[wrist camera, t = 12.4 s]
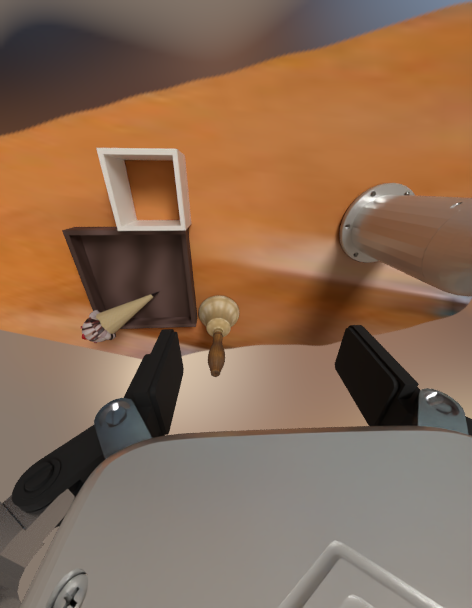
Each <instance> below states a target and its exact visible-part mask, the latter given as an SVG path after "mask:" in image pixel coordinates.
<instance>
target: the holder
mask: <svg viewBox="0 0 472 608" xmlns="http://www.w3.org/2000/svg"><path fill="white" fill-rule="evenodd" d="M96 149H97V152H98V156H99V160H100V164H101V168H102V172H103V176H104V179H105V183H106V187H107V191H108V195H109V199H110V202H111V206H112V210H113V214H114V218H115V222H116V226H117V229H118V231H173V230H187V228H188V227H189V226H190V225H191V215H190V204H189V194H188V183H187V173H186V162H185V155H184V154H182V153H181V152H180V151H179V150H178V149H147V148H96ZM124 160H172V161H173V164H174V172H175V181H176V189H177V198H178V206H179V215H180V220H137V218H136V213H135V209H134V204H133V199H132V194H131V190H130V185H129V180H128V176H127V171H126V166H125V161H124Z"/></svg>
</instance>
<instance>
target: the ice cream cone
mask: <svg viewBox="0 0 472 608" xmlns="http://www.w3.org/2000/svg"><path fill="white" fill-rule="evenodd" d="M158 293H159V292H156V293H153V294H150V295H148V296H145V297H142V298H139V299H137V300H134V301H131V302H128V303H126V304H123V305H120V306H117V307H115V308H112V309H109V310H106V311H103V312H101V313H100V312H99V311H97V310H95V311H93V312H91V313H90V315H89V318H88V319H87V320H86V321H85V322H84V324H83V327H82V326H81V328H82V333H83V334H82V339H85V340H86V339H87V340H89V341H92V342H94V343H97V342H102V341H105V340H112V339H114V338H115V337H116V334H115V333H116V332H117V331H118V330H119V329H120V328H121V327H122V326H123V325H124V324H125V323H126V322H127V321H129V320H130V319H131V318H132V317H133V316H134V315H135V314H136V313H137V312H138V311H139V310H140V309H141V308H143V307H144V306H145V305H146V304H147V303H148V302H149V301H150V300H151V299H152V298H153V297H154V296H155V295H156V294H158Z"/></svg>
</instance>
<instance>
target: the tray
mask: <svg viewBox="0 0 472 608" xmlns="http://www.w3.org/2000/svg"><path fill="white" fill-rule="evenodd" d="M62 231H63V234H64V236H65V239H66V241H67V244H68V247H69V249H70V252H71V254H72V257H73V260H74V262H75V265H76V268H77V270H78V273H79V275H80V278H81V281H82V283H83V286H84V288H85V291H86V294H87V296H88V299H89V301H90V304H91V307H92V309H93V311H95V310H97V311H99V312H100V313H101V312H103V311H106V310H109V309H112V308H115V307H117V306H120V305H123V304H126V303H128V302H131V301H134V300H137V299H139V298H142V297H145V296H148V295H150V294H153V293H156V292H159V293H158V294H156V295H155V296H154V297H153V298H152V299H151V300H150V301H149V302H148V303H147V304H146V305H145V306H144V307H143V308H141V309H140V310H139V311H138V312H137V313H136V314H135V315H134V316H133V317H132V318H131V319H130V320H129V321H127V322H126V323H125V324H124V325H123V326H122V327H121V328H120V329H131V328H165V327H196V323H197V310H196V300H195V290H194V281H193V271H192V261H191V251H190V242H189V232H188V228H187V230H173V231H118V229H117V227H73V228H70V229H66V230H62Z"/></svg>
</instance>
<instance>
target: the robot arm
mask: <svg viewBox="0 0 472 608" xmlns="http://www.w3.org/2000/svg"><path fill="white" fill-rule="evenodd" d="M370 194H371V195H370ZM345 226H346V227H345ZM339 236H340V243H341V246H342V248H343V250H344V252H345V253H346V254H347V255H348V256H349V257H351V258H352V259H354V260H356V261H359V262H364V263H371V262H376V261H380V262H383V263H385V264H387V265H389V266H391V267H393V268H395V269H397V270H400V271H402V272H404V273H406V274H408V275H410V276H412V277H414V278H417V279H419V280H421V281H423V282H425V283H427V284H429V285H432V286H434V287H436V288H438V289H440V290H443V291H445V292H448V293H451V294H455V295H460V296H472V198H458V197H435V196H415V195H414V193H413V192H412V190H410V189H409V188H408V187H407V186H404V185H402V184H397V183H385V184H380V185H377V186H374V187H372V188H370V189H368V190H367V191H365V192H363V193H362V194H361V195H360V196H359V197H357V198H356V199H355V201H354V202H353V203H352V204H351V205H350V207H349V208H348V210H347V211H346V213H345V215H344V217H343V220H342V223H341V226H340V234H339ZM335 369H336V371H337V372H338V374H339V376H340V377H341V379H342V381H343V383H344V384H345V386H346V388H347V389H348V391H349V393H350V394H351V396H352V398H353V399H354V401H355V403H356V405H357V406H358V408H359V410H360V411H361V413H362V415H363V417H364V418H365V420H366V422H367V423H368V425H369V426H362V427H361V426H360V427H327V428H301V429H300V428H299V429H271V430H247V431H223V432H204V433H186V434H176V435H166V434H168V433H169V431H170V426H171V422H172V418H173V414H174V410H175V406H176V401H177V397H178V393H179V389H180V385H181V381H182V376H183V363H182V357H181V351H180V345H179V340H178V334H177V332H174V330H173V329H166V330H162V331H161V332H160V335H159V337H158V339H157V341H156V343H155V345H154V348H153V350H152V352H151V354H146V355H145V356H144V358H143V360H142V362H141V364H140V366H139V368H138V370H137V372H136V374H135V376H134V378H133V380H132V382H131V384H130V386H129V388H128V390H127V392H126V394H125V396H124V398H120V399H115V400H113V401H110V402H109V403H107V404H106V405H104V406H103V407H102V408H101V409H100V410H99V412H98V413H97V415H96V417H95V420H94V425H93V426H91V427H90V428H88V429H87V430H85V431H84V432H82V433H81V434H79V435H78V436H76V437H74V438H73V439H71V440H70V441H69V442H67V443H65V444H64V445H62V446H61V447H59V448H58V449H56V450H54V451H53V452H52V453H50V454H48V455H47V456H45V457H44V458H42V459H41V460H39V461H38V462H36V463H35V464H34V465H32V466H31V467H30V468H29V469H28V470H27V471H26V472H25V473H24V474H23V475H22V476H21V477H20V479H19V480H18V482H17V483H16V485H15V487H14V490H13V492H12V495H11V496H10V497H9V498H8V499H7V500H6V501H4V502H3V503H1V502H0V608H472V419H470V418H468V417H466V416H465V413H464V410H463V408H462V407H461V406H460V404H459V403H458V402H456V401H455V400H454V399H453V398H451V397H450V396H448V395H447V394H445V393H442V392H440V391H437V390H434V389H428V388H427V389H422V390H420V389H419V388H418V387H417V386H418V383H417V382H416V381H415V380H414V379H413V378H412V377H411V376H410V374H409V373H408V372H407V371H406V370H405V369H404V368H403V367H402V366H401V365H400V364H399V363H398V362H397V361H396V360H395V359H394V358H393V357H392V356H391V355H390V354H389V353H388V352H387V351H386V350H385V349H384V348H383V347H382V346H381V344H379V342H378V341H377V340H376V339H375V338H374V337H373V336H372V335H371V334H370V333H369V332H368V331H367V330H366V329H365V328H364V327H363V326H362V325H351V326H349V327H348V328H346V330H345V332H344V336H343V339H342V342H341V346H340V349H339V352H338V355H337V358H336V362H335ZM165 435H166V436H165ZM58 526H59V528H58V530H57V532H56V534H55V536H54V538H53V540H52V542H51V544H50V546H49V548H48V550H47V552H46V554H45V556H44V558H43V560H42V562H41V564H40V566H39V568H38V571H37V573H36V575H35V576H34V579H33V581H32V583H31V585H30V587H29V589H28V591H27V593H26V595H25V597H24V599H23V601H22V603H21V602H20V600H19V596H18V592H17V591H18V586H19V581H20V578H21V576H22V574H23V572H24V569H25V568H26V566H27V565H28V563H29V562H30V561H31V559H32V558H33V556H34V555H35V554H36V553H37V552H38V550H39V549H40V548H41V547H42V546H43V545H44V543H43V540H44V539H45V538H46V537H47V536H48V535H49V533H50V532H51V531H52V530H53V529H54V528H55V527H58ZM84 574H87V575H84Z"/></svg>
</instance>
